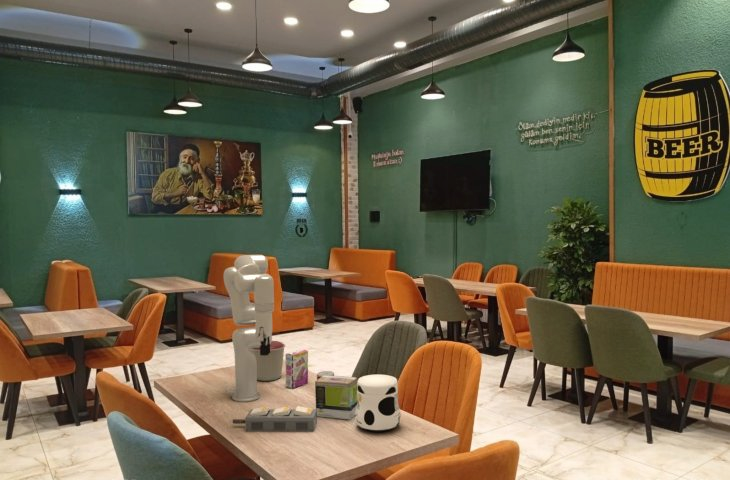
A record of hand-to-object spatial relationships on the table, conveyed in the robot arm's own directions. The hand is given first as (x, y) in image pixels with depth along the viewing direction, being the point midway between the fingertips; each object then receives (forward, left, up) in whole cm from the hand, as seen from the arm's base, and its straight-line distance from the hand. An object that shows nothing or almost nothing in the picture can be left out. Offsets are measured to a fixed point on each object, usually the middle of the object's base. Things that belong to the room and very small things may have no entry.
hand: (265, 353), depth 211 cm
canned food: (+20, +30, -27) cm, 45 cm away
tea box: (+27, +9, -27) cm, 40 cm away
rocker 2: (+7, -5, -21) cm, 23 cm away
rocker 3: (+16, -5, -21) cm, 27 cm away
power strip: (+4, -5, -27) cm, 28 cm away
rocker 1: (-1, -5, -21) cm, 22 cm away
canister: (-13, +60, -27) cm, 67 cm away
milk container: (+44, -4, -27) cm, 52 cm away
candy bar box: (+4, +48, -27) cm, 55 cm away
